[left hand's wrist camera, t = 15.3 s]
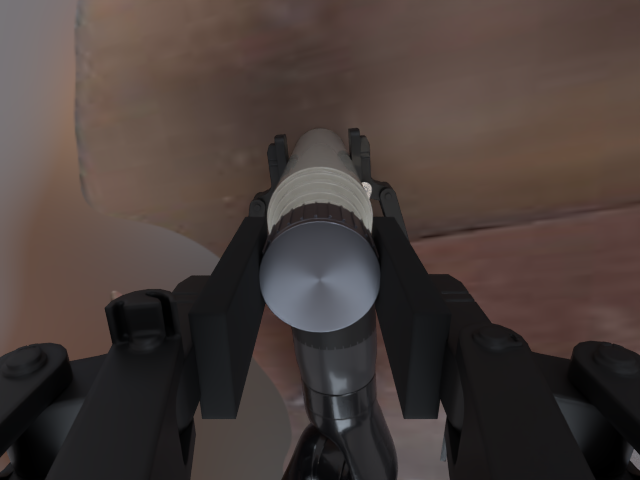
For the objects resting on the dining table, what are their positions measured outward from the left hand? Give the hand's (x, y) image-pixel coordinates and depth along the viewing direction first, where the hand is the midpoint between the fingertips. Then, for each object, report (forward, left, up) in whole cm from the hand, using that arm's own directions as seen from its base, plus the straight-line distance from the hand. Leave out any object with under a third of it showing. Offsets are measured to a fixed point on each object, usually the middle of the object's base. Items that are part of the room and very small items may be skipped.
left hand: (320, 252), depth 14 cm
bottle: (0, 0, -24) cm, 24 cm away
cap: (0, 0, +2) cm, 2 cm away
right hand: (-3, -1, -17) cm, 17 cm away
